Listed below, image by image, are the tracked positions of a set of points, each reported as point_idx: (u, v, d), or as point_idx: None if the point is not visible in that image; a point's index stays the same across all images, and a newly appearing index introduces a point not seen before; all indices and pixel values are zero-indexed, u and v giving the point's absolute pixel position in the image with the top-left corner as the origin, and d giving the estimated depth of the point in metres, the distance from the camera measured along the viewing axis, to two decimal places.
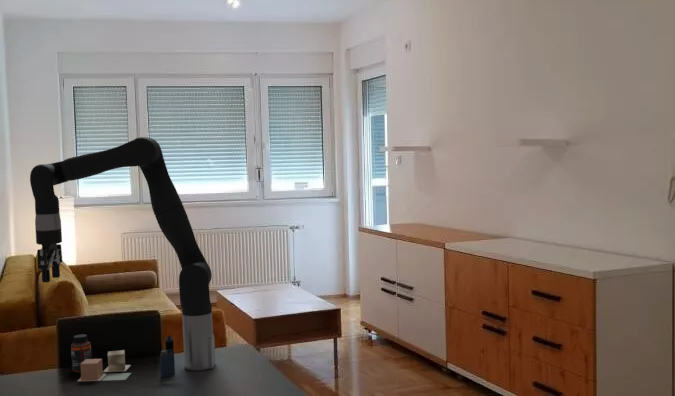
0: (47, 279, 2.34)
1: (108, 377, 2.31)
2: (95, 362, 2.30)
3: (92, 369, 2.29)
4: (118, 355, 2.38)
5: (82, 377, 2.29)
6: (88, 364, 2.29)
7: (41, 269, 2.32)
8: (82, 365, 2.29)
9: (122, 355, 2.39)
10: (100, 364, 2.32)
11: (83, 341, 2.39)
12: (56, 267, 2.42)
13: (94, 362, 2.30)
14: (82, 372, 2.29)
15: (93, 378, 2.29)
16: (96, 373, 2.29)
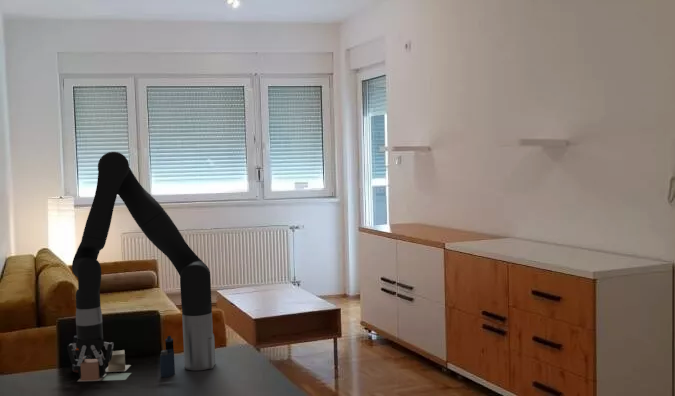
0: None
1: (108, 377, 2.31)
2: (95, 362, 2.30)
3: (92, 369, 2.29)
4: (118, 355, 2.38)
5: (82, 377, 2.29)
6: (88, 364, 2.29)
7: None
8: (82, 365, 2.29)
9: (122, 355, 2.39)
10: None
11: None
12: None
13: (94, 362, 2.30)
14: (82, 372, 2.29)
15: (93, 378, 2.29)
16: (96, 373, 2.29)
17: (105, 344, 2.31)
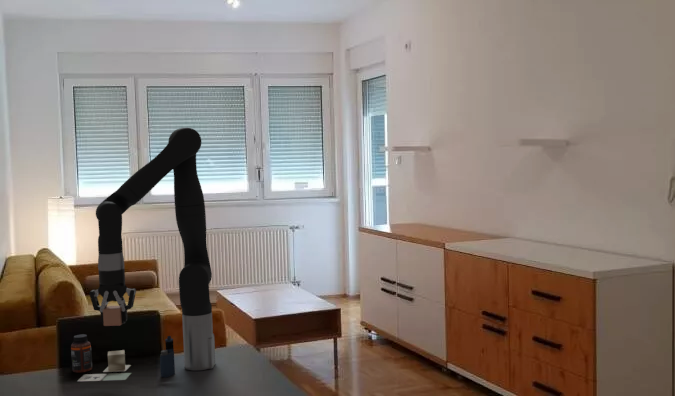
0: None
1: (108, 377, 2.31)
2: (117, 308, 2.29)
3: (114, 315, 2.28)
4: (118, 355, 2.38)
5: (104, 323, 2.28)
6: (110, 310, 2.28)
7: None
8: (104, 311, 2.28)
9: (122, 355, 2.39)
10: None
11: (83, 341, 2.39)
12: None
13: (116, 308, 2.29)
14: (104, 318, 2.28)
15: (115, 324, 2.28)
16: (118, 319, 2.28)
17: (127, 290, 2.30)
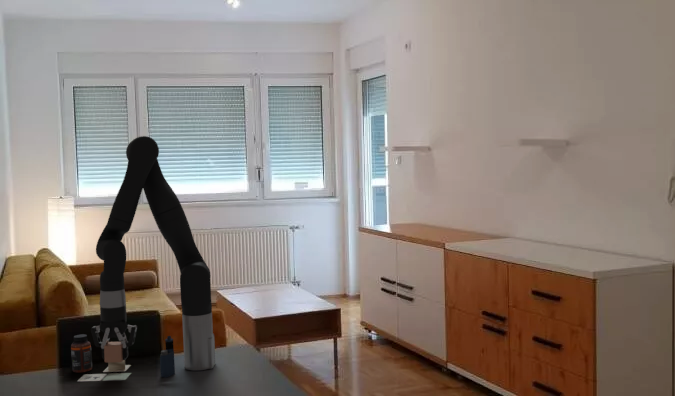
0: None
1: (108, 377, 2.31)
2: (118, 345, 2.30)
3: (115, 351, 2.29)
4: None
5: (105, 359, 2.29)
6: (112, 346, 2.29)
7: None
8: (106, 347, 2.29)
9: None
10: None
11: (83, 341, 2.39)
12: None
13: (117, 344, 2.30)
14: (105, 354, 2.29)
15: (116, 360, 2.29)
16: (119, 355, 2.29)
17: (128, 327, 2.31)
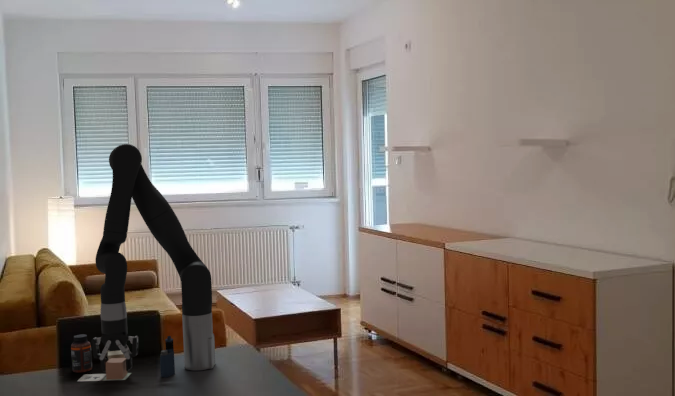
0: None
1: None
2: (120, 361, 2.30)
3: (117, 368, 2.29)
4: (118, 355, 2.38)
5: (107, 376, 2.29)
6: (113, 363, 2.29)
7: None
8: (107, 364, 2.29)
9: (122, 355, 2.39)
10: (124, 364, 2.32)
11: (83, 341, 2.39)
12: (106, 360, 2.32)
13: (119, 361, 2.30)
14: (107, 371, 2.29)
15: (118, 377, 2.29)
16: (121, 372, 2.29)
17: (130, 338, 2.31)
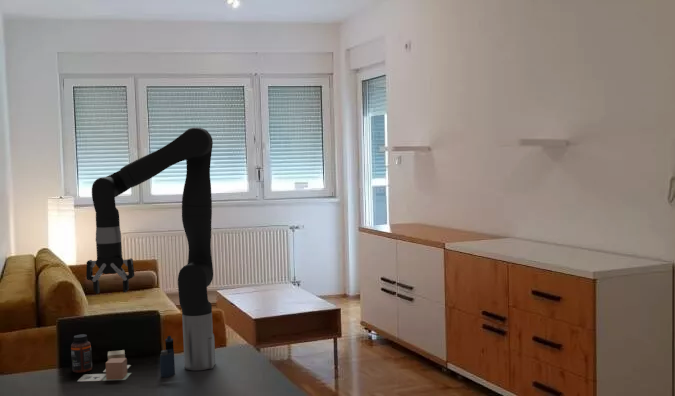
0: None
1: None
2: (120, 361, 2.30)
3: (117, 368, 2.29)
4: (118, 355, 2.38)
5: (107, 376, 2.29)
6: (113, 363, 2.29)
7: (129, 278, 2.38)
8: (107, 364, 2.29)
9: (122, 355, 2.39)
10: (124, 364, 2.32)
11: (83, 341, 2.39)
12: (98, 282, 2.38)
13: (119, 361, 2.30)
14: (107, 371, 2.29)
15: (118, 377, 2.29)
16: (121, 372, 2.29)
17: (124, 261, 2.37)
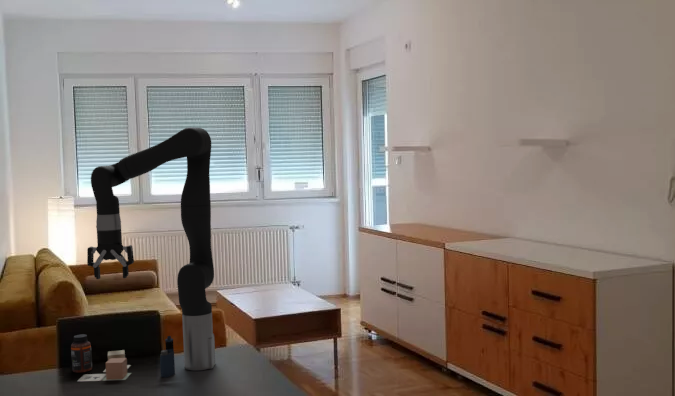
0: None
1: None
2: (120, 361, 2.30)
3: (117, 368, 2.29)
4: (118, 355, 2.38)
5: (107, 376, 2.29)
6: (113, 363, 2.29)
7: (129, 264, 2.44)
8: (107, 364, 2.29)
9: (122, 355, 2.39)
10: (124, 364, 2.32)
11: (83, 341, 2.39)
12: (99, 268, 2.45)
13: (119, 361, 2.30)
14: (107, 371, 2.29)
15: (118, 377, 2.29)
16: (121, 372, 2.29)
17: (124, 248, 2.44)
